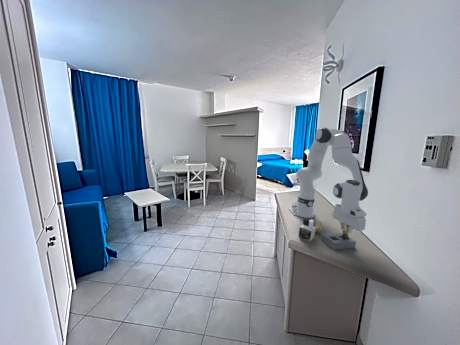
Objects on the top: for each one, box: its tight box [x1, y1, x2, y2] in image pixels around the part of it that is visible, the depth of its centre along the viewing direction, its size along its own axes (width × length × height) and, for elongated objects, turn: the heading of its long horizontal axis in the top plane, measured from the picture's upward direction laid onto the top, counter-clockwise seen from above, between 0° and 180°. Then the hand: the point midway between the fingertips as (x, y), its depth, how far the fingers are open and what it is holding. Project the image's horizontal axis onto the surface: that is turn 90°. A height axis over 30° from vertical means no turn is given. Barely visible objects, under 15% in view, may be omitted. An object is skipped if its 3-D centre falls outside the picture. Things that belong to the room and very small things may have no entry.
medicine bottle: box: [298, 217, 316, 242], centre depth 124 cm, size 7×7×12 cm
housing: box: [321, 232, 357, 251], centre depth 119 cm, size 14×10×4 cm
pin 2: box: [341, 223, 350, 238], centre depth 118 cm, size 3×3×8 cm
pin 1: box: [315, 220, 323, 236], centre depth 130 cm, size 3×3×8 cm
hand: (345, 231), depth 118 cm, fingers closed on pin 2, 3 cm apart
